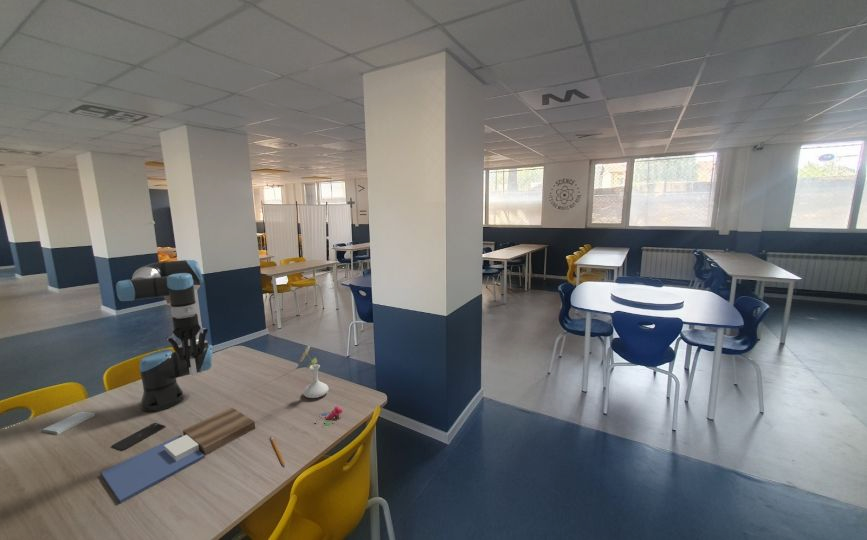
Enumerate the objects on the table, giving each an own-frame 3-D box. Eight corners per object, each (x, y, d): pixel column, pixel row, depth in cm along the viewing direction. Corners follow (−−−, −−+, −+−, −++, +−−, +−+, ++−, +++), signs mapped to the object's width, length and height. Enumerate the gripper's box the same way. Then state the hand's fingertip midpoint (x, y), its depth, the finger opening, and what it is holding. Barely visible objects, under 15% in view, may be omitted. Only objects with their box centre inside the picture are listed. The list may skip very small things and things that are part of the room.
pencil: (269, 438, 128) (282, 468, 113) (270, 435, 128) (283, 465, 113) (271, 438, 128) (284, 468, 114) (273, 436, 129) (286, 465, 114)
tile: (164, 450, 120) (163, 445, 120) (187, 439, 126) (186, 434, 126) (176, 461, 115) (175, 456, 115) (199, 449, 121) (198, 444, 120)
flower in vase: (314, 385, 166) (311, 338, 162) (333, 390, 162) (330, 341, 158) (295, 399, 154) (290, 348, 150) (315, 404, 150) (311, 351, 146)
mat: (101, 474, 111) (100, 472, 111) (181, 436, 129) (180, 434, 129) (120, 503, 100) (120, 500, 100) (204, 457, 118) (204, 454, 118)
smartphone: (109, 445, 124) (154, 421, 138) (110, 447, 124) (154, 423, 138) (122, 450, 121) (166, 425, 135) (122, 452, 122) (167, 427, 136)
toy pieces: (330, 408, 148) (330, 399, 147) (346, 417, 141) (346, 408, 140) (305, 421, 138) (305, 412, 138) (321, 432, 132) (320, 422, 131)
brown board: (183, 437, 129) (182, 430, 128) (232, 413, 144) (231, 407, 143) (205, 455, 119) (204, 447, 119) (255, 428, 134) (254, 421, 133)
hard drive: (57, 431, 131) (94, 413, 143) (41, 429, 133) (79, 410, 145) (57, 435, 132) (95, 416, 144) (42, 433, 133) (80, 414, 145)
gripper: (167, 322, 117) (176, 384, 121) (208, 312, 127) (216, 370, 132) (159, 317, 121) (169, 378, 126) (200, 309, 132) (208, 364, 136)
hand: (193, 373), depth 129 cm, fingers closed
